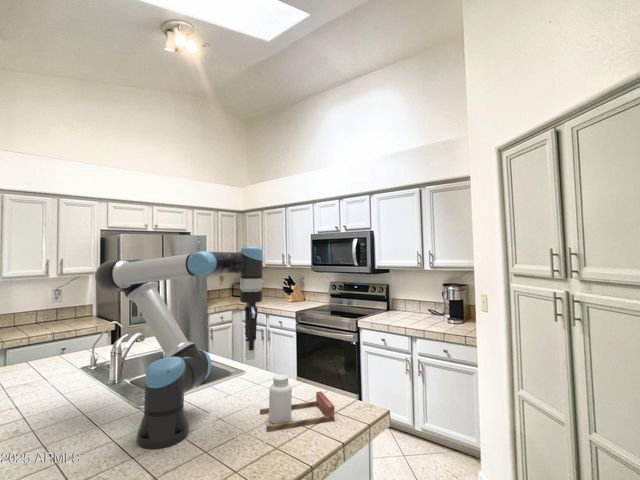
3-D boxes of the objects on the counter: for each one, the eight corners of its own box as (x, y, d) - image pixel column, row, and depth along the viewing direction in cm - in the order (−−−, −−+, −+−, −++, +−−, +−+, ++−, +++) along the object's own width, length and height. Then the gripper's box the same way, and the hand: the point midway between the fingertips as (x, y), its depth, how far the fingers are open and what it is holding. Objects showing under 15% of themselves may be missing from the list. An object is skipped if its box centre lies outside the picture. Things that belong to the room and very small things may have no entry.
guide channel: (267, 431, 112) (267, 416, 112) (260, 413, 125) (260, 399, 125) (334, 420, 120) (334, 406, 120) (321, 404, 133) (321, 391, 133)
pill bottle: (280, 427, 115) (281, 382, 116) (264, 420, 120) (264, 377, 121) (295, 418, 121) (296, 376, 122) (279, 412, 126) (280, 371, 127)
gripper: (265, 292, 113) (264, 363, 112) (258, 288, 127) (257, 351, 126) (242, 292, 111) (241, 365, 110) (238, 288, 125) (236, 353, 124)
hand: (250, 358), depth 118 cm, fingers closed
